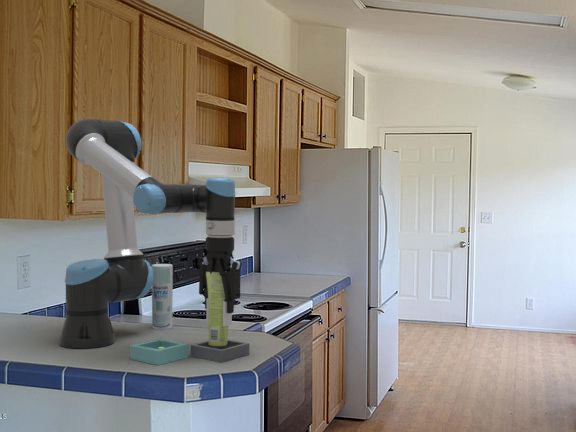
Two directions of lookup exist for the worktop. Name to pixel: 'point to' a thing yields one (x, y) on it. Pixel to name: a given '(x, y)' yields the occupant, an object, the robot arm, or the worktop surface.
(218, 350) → the gray square frame
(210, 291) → the tube
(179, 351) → the block
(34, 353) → the worktop surface
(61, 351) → the worktop surface
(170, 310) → the spray can
